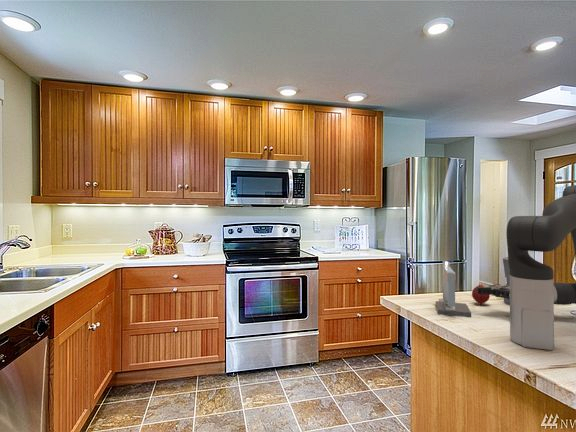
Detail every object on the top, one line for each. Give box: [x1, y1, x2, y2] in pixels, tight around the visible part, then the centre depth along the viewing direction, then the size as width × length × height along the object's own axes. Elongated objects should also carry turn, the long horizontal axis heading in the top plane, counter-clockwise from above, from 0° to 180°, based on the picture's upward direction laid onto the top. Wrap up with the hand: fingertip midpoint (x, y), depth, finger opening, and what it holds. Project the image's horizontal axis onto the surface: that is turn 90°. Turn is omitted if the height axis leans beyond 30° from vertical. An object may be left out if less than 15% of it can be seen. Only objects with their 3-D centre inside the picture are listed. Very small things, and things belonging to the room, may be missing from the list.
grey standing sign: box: [444, 266, 457, 307], centre depth 114 cm, size 16×3×11 cm, turn 159°
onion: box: [471, 282, 491, 305], centre depth 122 cm, size 6×6×8 cm
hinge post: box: [438, 260, 451, 302], centre depth 124 cm, size 5×5×16 cm
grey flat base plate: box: [435, 300, 472, 318], centre depth 114 cm, size 12×10×2 cm
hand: (477, 290), depth 110 cm, fingers closed
